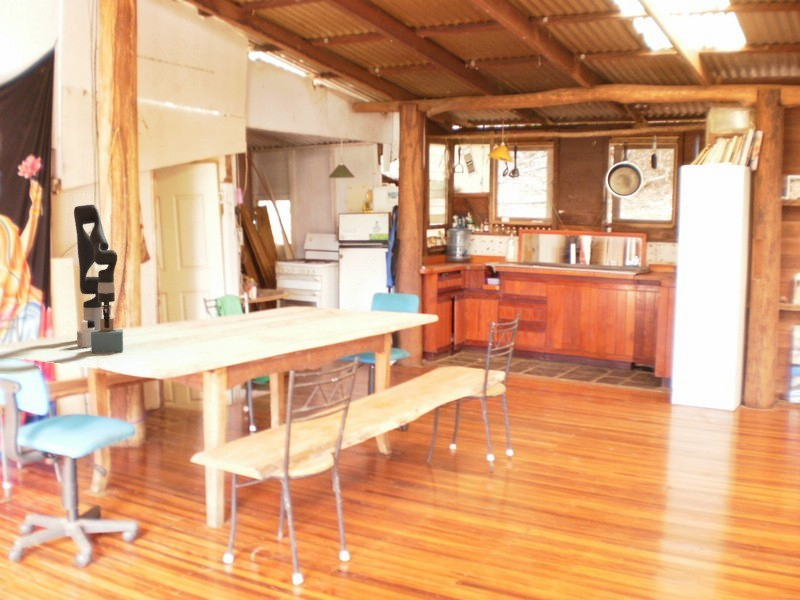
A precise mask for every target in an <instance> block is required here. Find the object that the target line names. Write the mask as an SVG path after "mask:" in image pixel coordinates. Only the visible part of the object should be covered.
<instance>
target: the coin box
mask: <svg viewBox="0 0 800 600" xmlns="http://www.w3.org/2000/svg"><path fill="white" fill-rule="evenodd" d="M123 350H124V330H123V329H114V331H108V332H100V330H92V332H91V347H90V351H91V354H109V353H110V354H113V353H124V351H123Z"/></svg>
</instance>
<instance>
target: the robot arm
mask: <svg viewBox="0 0 800 600" xmlns="http://www.w3.org/2000/svg"><path fill="white" fill-rule="evenodd" d="M73 217H74V224H75V232H76V240H77V241H76V242H77V257H78V267H79V290H80V293H81V294H82V295H94V297H93V298H90V299H88V300H86V301H85V300H84V302H83V303H82V305H83V306H82V307H83V309H82V310H83V311H82V312H83V320H93V321H94V322H95V329H94V330H100V319H104V327H105V328H109V319H111V311H112V310H111V309H112V305H110V303H114V302H115V301H116V299H115V297H116V293H115V289H116V288H115V276H114V275H115V269H116V266H117V262H118V254H117V252H116V251H115V250H113V249H109V243H108V240H107V238H106V235H105V233H104V230H103V229H104V228H103V225H102V222H101V217H100V213H99V209H98V208H97V206H96V205H95V204H84V205H77V206H75V207H74V209H73ZM87 224H94V225H93V227H92V230H91V232H90V234H88V232H86V230H85V229H84V225H87ZM93 264H97V265H99V266H107V267H106V268H105V269H101V270H99V271H98V274H97V276H87V274H88V272H89V271H90V269H91V267H92V266H93Z"/></svg>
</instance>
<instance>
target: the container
mask: <svg viewBox="0 0 800 600" xmlns="http://www.w3.org/2000/svg"><path fill="white" fill-rule="evenodd" d="M94 329H95V322H94V321H93V320H84V319H83V320H82V321H80V330H77V331H76V346H77V347H81V348H85V347H87V348H91V332H92V330H94Z"/></svg>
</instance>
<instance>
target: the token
mask: <svg viewBox="0 0 800 600" xmlns="http://www.w3.org/2000/svg"><path fill="white" fill-rule="evenodd" d="M114 322H115V321H114V318H110V319H109V328H105V327H104V319H103V318H102V319H100V332H108V331H114V330H115V327H114V325H115V324H114Z"/></svg>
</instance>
